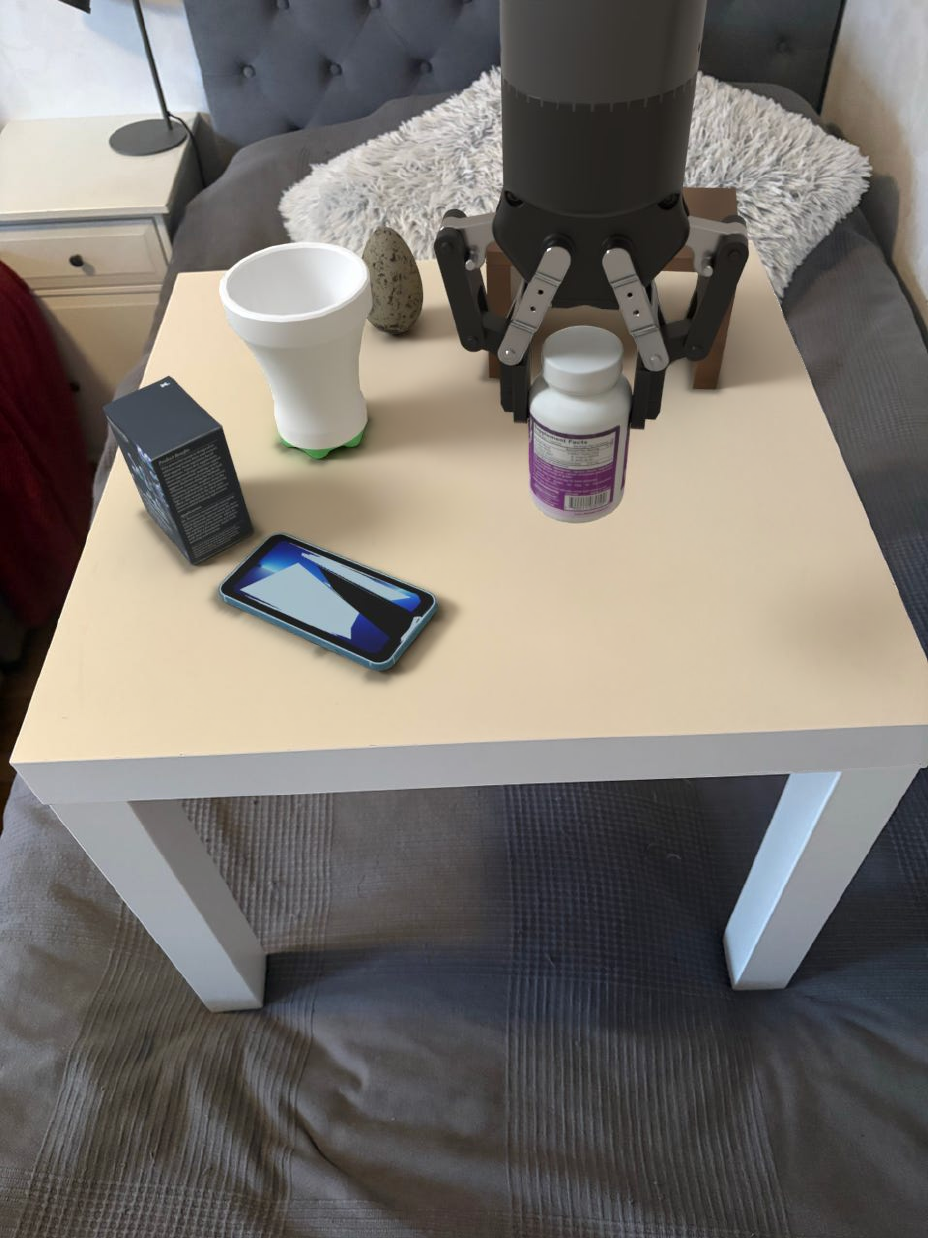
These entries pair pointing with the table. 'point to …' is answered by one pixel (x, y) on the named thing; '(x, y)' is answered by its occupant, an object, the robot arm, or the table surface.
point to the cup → (305, 337)
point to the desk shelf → (700, 204)
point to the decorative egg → (392, 282)
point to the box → (181, 468)
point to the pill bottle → (579, 425)
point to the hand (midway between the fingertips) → (580, 415)
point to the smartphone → (330, 600)
